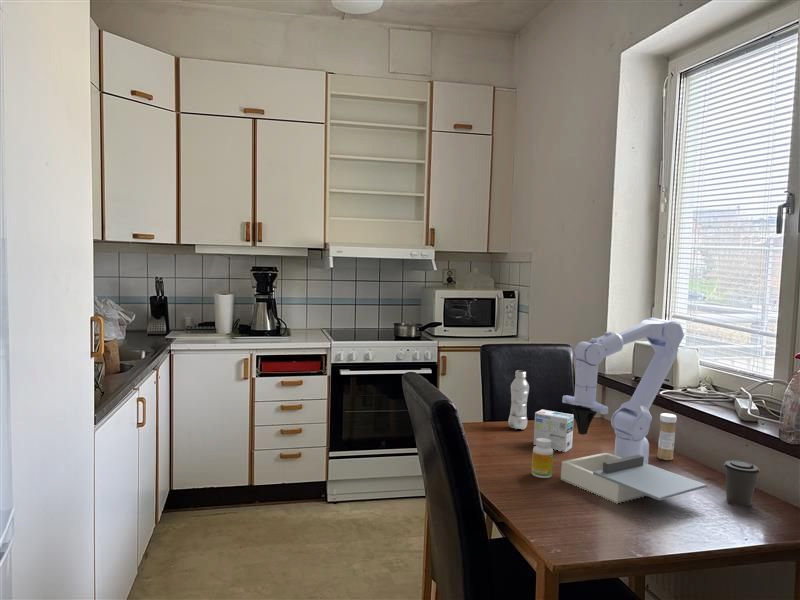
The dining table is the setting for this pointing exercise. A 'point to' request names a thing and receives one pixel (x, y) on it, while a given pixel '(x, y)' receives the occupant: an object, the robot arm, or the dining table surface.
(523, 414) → the plastic bottle
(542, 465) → the supplement bottle
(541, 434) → the light bulb box
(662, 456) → the sprinkles bottle
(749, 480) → the coffee cup
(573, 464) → the white square shallow box
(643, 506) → the dining table surface
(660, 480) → the lid
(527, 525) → the dining table surface
